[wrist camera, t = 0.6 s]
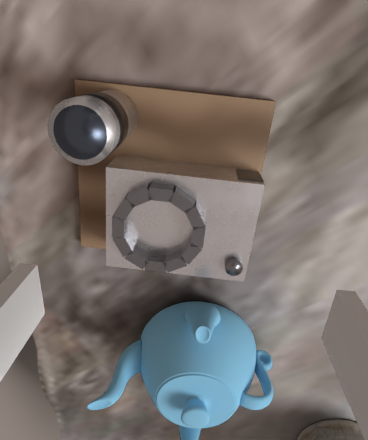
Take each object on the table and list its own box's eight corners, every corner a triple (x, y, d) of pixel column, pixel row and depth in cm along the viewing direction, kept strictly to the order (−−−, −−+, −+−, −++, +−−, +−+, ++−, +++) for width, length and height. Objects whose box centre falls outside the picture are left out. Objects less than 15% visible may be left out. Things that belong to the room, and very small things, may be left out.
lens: (89, 86, 33) (43, 93, 23) (139, 91, 33) (114, 101, 23) (90, 137, 35) (48, 162, 26) (137, 143, 35) (113, 170, 26)
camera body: (118, 153, 35) (101, 170, 30) (257, 169, 35) (267, 189, 29) (117, 244, 40) (102, 274, 34) (239, 258, 40) (245, 290, 34)
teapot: (109, 332, 48) (80, 412, 37) (204, 260, 42) (203, 330, 31) (189, 395, 53) (185, 483, 41) (285, 338, 46) (310, 424, 35)
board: (78, 79, 34) (74, 79, 33) (273, 100, 33) (275, 101, 32) (84, 241, 42) (81, 246, 41) (241, 259, 41) (242, 264, 40)
